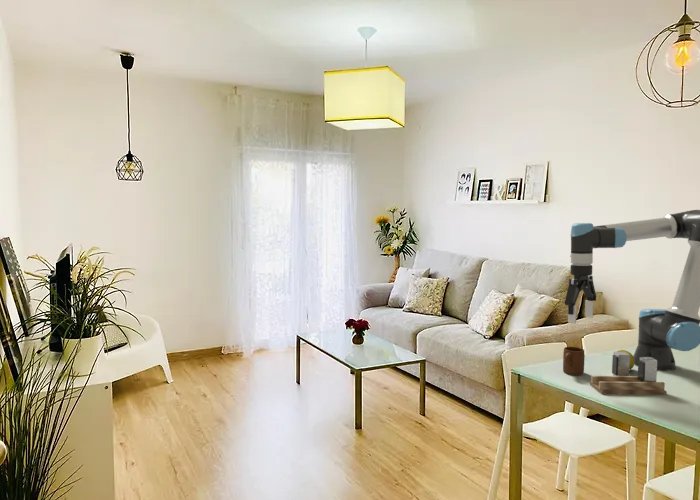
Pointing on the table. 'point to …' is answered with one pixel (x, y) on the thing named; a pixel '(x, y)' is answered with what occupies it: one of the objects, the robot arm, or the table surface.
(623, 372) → the block
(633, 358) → the lemon
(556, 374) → the table surface
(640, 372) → the finger
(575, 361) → the mug
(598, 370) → the table surface
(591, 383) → the rail
